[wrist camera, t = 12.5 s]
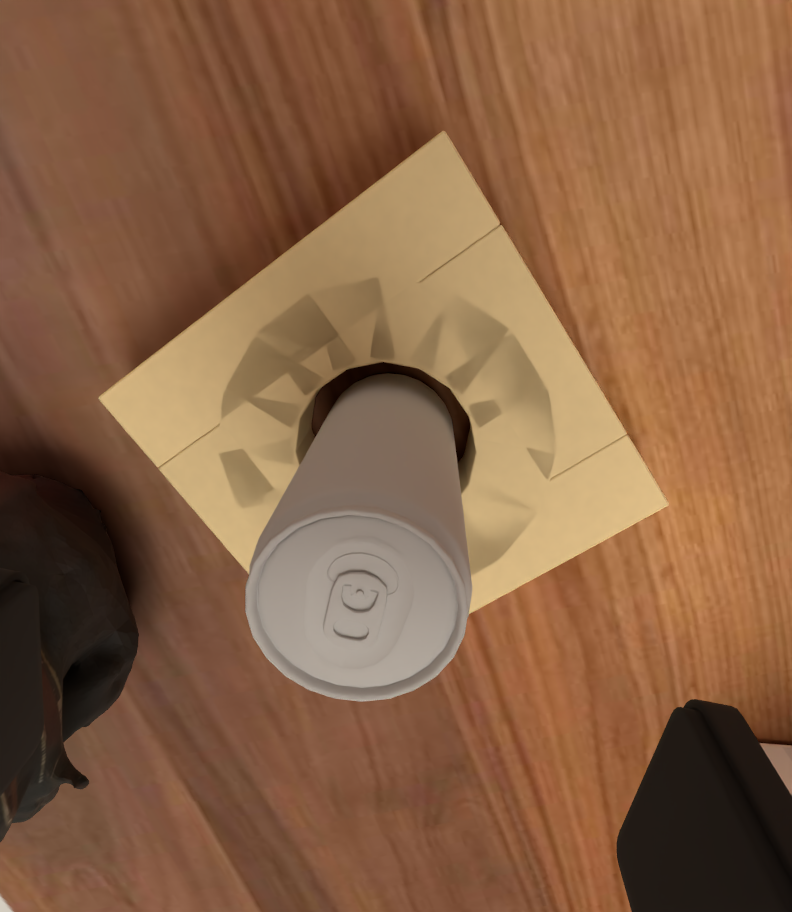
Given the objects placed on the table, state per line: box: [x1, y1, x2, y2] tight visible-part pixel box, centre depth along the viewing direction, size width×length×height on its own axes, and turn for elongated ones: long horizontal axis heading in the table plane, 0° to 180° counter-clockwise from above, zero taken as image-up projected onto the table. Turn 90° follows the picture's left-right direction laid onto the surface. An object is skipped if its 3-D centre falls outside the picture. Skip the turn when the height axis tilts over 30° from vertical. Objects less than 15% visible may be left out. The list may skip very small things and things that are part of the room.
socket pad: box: [99, 131, 669, 614], centre depth 22 cm, size 14×14×3 cm
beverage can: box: [245, 373, 472, 701], centre depth 18 cm, size 5×5×12 cm
